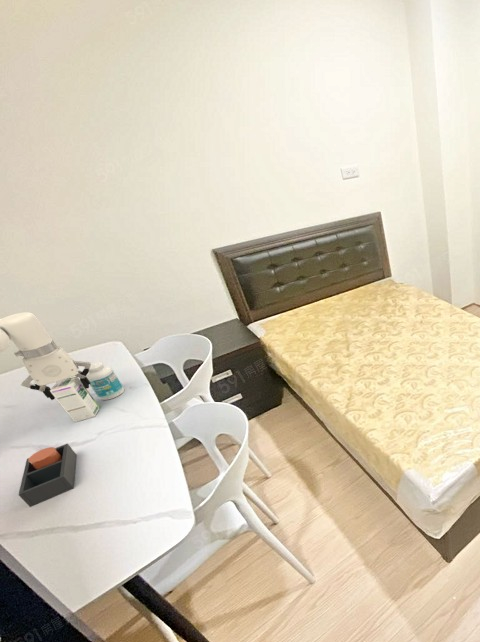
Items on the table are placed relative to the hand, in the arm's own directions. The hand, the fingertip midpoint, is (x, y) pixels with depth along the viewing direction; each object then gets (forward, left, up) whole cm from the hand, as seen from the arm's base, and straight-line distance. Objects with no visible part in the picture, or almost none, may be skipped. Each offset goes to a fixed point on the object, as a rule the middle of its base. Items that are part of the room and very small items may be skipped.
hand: (70, 392), depth 136 cm
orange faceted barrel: (-6, -29, -10) cm, 31 cm away
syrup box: (0, 0, -11) cm, 11 cm away
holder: (-6, -33, -10) cm, 35 cm away
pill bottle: (+7, +9, -11) cm, 16 cm away
